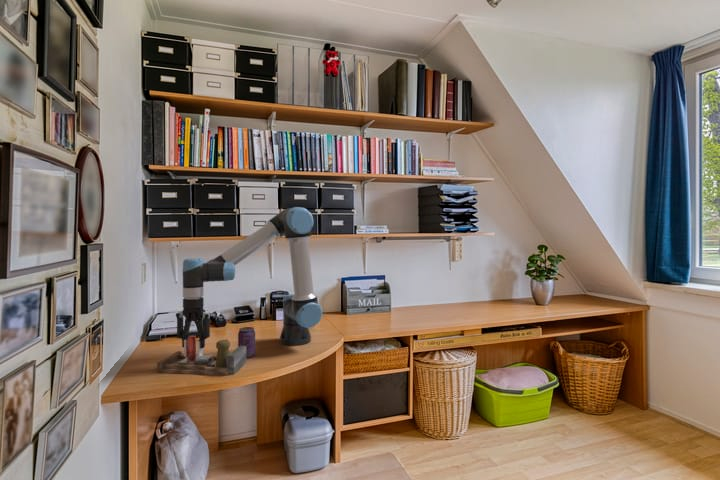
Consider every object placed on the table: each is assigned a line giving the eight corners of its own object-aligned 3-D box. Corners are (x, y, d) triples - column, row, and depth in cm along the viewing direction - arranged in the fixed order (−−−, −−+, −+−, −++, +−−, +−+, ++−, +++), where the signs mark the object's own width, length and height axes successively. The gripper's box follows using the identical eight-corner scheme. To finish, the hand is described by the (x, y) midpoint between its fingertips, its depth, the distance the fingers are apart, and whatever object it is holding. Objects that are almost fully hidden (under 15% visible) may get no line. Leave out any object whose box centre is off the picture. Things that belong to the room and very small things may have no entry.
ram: (215, 360, 155) (215, 334, 155) (206, 367, 147) (205, 340, 147) (189, 359, 156) (189, 333, 156) (178, 366, 148) (178, 339, 148)
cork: (212, 370, 148) (211, 342, 148) (220, 364, 154) (219, 337, 154) (226, 371, 147) (226, 343, 147) (234, 365, 153) (233, 338, 153)
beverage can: (245, 352, 169) (245, 326, 168) (258, 354, 166) (258, 327, 166) (234, 357, 162) (234, 330, 162) (248, 360, 160) (248, 331, 159)
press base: (247, 362, 157) (247, 345, 157) (232, 375, 143) (232, 357, 143) (178, 359, 160) (177, 343, 160) (157, 372, 146) (156, 354, 146)
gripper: (219, 296, 154) (219, 353, 155) (177, 295, 155) (177, 351, 156) (210, 299, 146) (210, 359, 147) (166, 298, 148) (166, 357, 149)
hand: (193, 355), depth 152 cm, fingers closed on ram, 5 cm apart
